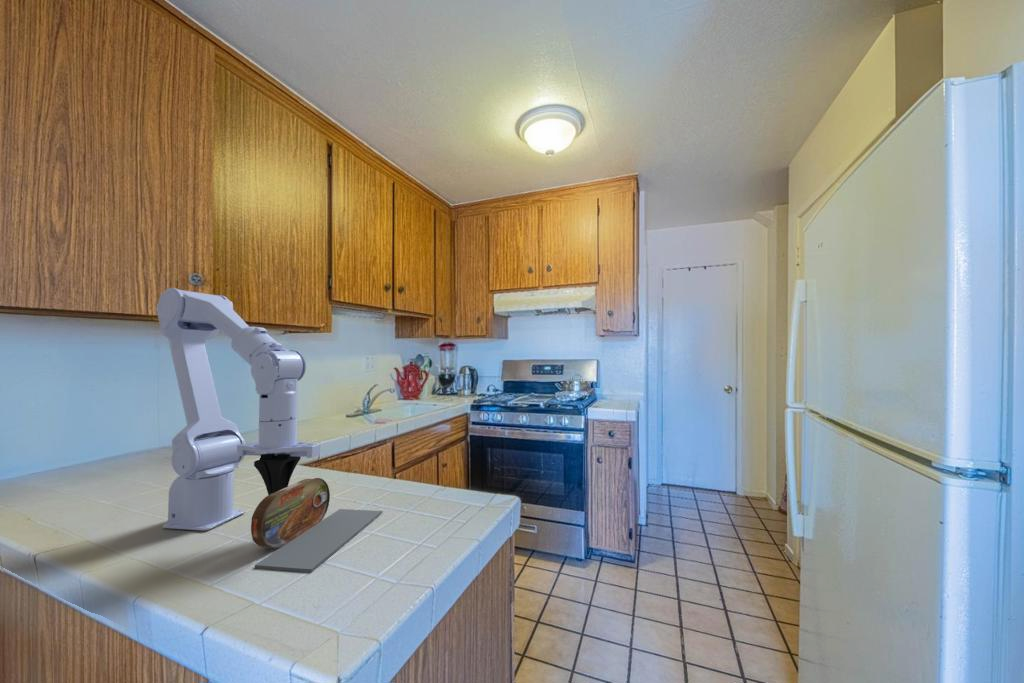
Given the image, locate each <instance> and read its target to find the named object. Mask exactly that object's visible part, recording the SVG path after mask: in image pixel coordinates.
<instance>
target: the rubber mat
mask: <svg viewBox="0 0 1024 683" xmlns="http://www.w3.org/2000/svg"><path fill="white" fill-rule="evenodd" d="M381 513H382V514H383V510H370V509H369V510H368V509H366V510H365V509H347V508H346V509H344V508H339V509H338V510H336V511H334V512H333V513H331V514H330V515H328V516H327V517H325V518H323V519H322V520H321V522H319V523H318V524H316V525H315V526H313V527H312V528H310V529H309V530H307V531H306V532H304V533H303V534H301V535H300V536H298V537H297V538H295V539H293V540H292V541H290V542H289V543H287V544H286V545H284V546H283V547H281V548H277V549H276V550H274V551H273V552H272V553H271V554H269V555H268V556H266V557H264V558H263V559H262V560H260V561H259V562H257V563H255V564H254V569H262V570H263V569H264V570H277V571H279V570H280V571H290V572H302V573H303V572H304V573H312V572H314V571H315V570H316V569H317V568H319V567H320V566H321V565H322V564H323V563H324V562H326V561H327V560H328V559H329V558H330V557H332V556H333V555H334V554H335V553H336V552H338V551H339V550H340V549H341V548H342V547H344V546H345V545H346V544H347V543H349V542H350V541H351V540H352V539H353V538H355V537H356V536H357V535H358V534H359V533H361V532H362V531H363V530H364V529H365V528H366V527H368V526H369V525H370V524H372V523H373V520H374V519H375V518H376V519H377V518H379V517H380V516H381V515H382V514H381ZM380 514H381V515H380ZM379 515H380V516H379ZM376 519H375V520H376ZM375 520H374V521H375Z"/></svg>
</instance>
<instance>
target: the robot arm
mask: <svg viewBox="0 0 1024 683" xmlns="http://www.w3.org/2000/svg"><path fill="white" fill-rule="evenodd" d="M233 303H234V302H233V301H231V300H229V299H228V297H227V296H225V295H221V294H210V293H203V292H197V291H190V290H189V291H188V290H183V289H178V288H175V287H169V288H167V289H165V290H164V291H163V292H162V293H161V295H160V296H159V300H158V302H157V305H156V314H157V318H158V323H159V327H160V331H161V335H162V336H164V337H165V338H167V339H168V343H169V348H170V354H171V358H172V363H173V366H174V368H173V369H174V371H175V376H176V380H177V384H178V385H177V386H178V389H179V394H180V399H181V403H182V407H183V413H184V416H185V421H186V426H185V427H184V428H182V429H181V430H180V431H179V432H177V434H176V435H175V436H174V437H173V438H172V439H171V446H172V448H171V449H172V454H171V460H170V462H171V465H172V469H173V471H174V472H175V473H176V474H177V475H178V476H177V477H176V478H175V479H174V480H173V482H172V483H171V485H170V487H169V490H168V505H167V506H168V507H167V523H165V524H162V528H163V529H173V530H190V531H191V530H192V531H210V530H211V529H214V528H216V527H218V526H219V525H222V524H224V523H226V522H229V521H231V520H233V519H235V518H236V517H238V516H241V515H243V514H245V513H246V510H245V509H234V500H235V499H234V497H235V493H234V492H235V491H234V489H235V469H238V468H239V464H240V463H241V462H242V461H243V460H244V457H245V456H254V457H255V456H256V457H257V456H260V457H259V459H257V460H254V461H253V466H254V468H255V469H256V470H257V472H259V475H260V476H261V478H262V480H263V483H264V485H265V488H266V490H267V494H268V495H270V494H272V493H275V492H277V491H279V490H281V489H284V488H286V487H288V486H289V484H290V480H291V477H292V475H293V472H294V470H295V469H296V467H297V465H298V463H299V461H300V460H301V457H306V458H307V459H313V458H316V457H318V456H320V455H321V454H320V451H321V449H320V448H321V446H320V445H321V444H320V443H311V442H303V441H298V416H299V415H298V412H299V411H298V404H299V403H298V401H299V400H298V399H299V397H298V396H299V394H298V393H299V381H301V379H302V378H304V376H305V373H306V370H307V363H306V359H305V358H304V356H303V355H302V353H301V352H300V351H299V350H296V349H290V350H289V349H287V348H285V347H283V344H282V343H280V342H279V341H276V340H275V339H274V338H273V337H272V336H271V335H270V334H268V333H267V332H268V330H267V329H266V328H264V327H260V326H250V325H248V323H246V322H245V320H244V319H243V318H242V317H240V315H239V314H238V313H237V312H236V311H235V310H234V304H233ZM220 332H221V333H222V334H224V335H225V336H227V337H228V339H230V340H231V343H230V344H231V348H232V350H233V351H234V352H235V353H236V354H237V355H238V356H239V357H240V358H242V360H243V361H245V363H247V364H249V365H250V366H251V367H250V374H251V376H252V379H253V380H254V383H255V391H256V394H258V396H259V397H258V398H259V399H258V400H259V401H258V402H259V403H258V404H259V405H258V441H257V442H246V440H245V439H244V437H243V435H241V432H240V431H239V427H238V424H237V423H235V422H233V421H231V420H229V419H226V418H224V417H223V416H222V412H221V411H222V410H221V407H220V406H221V405H220V403H219V398H218V395H217V390H216V387H215V381H214V377H213V375H212V369H211V365H210V362H209V361H210V360H209V357H208V356H209V355H208V352H207V350H206V349H207V348H206V342H207V341H209V340H212V339H214V338H216V336H217V335H218V334H219V333H220ZM268 495H267V496H268Z"/></svg>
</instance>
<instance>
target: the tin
mask: <svg viewBox="0 0 1024 683" xmlns="http://www.w3.org/2000/svg"><path fill="white" fill-rule="evenodd" d="M330 492H331V491H330V488H329V485H328V483H327V482H326V481H325V480H324V479H323V478H321V477H315V478H305V479H302V480H300V481H297V482H294V483H293V484H290V485H288V487H286V488H284V489H281V490H279V491H277V492H275V493H272V494H270V495H267V496H265V497H264V498H262V500H261V501H260V502H259V504H258V505H257V506H256V508H255V510H254V511H253V513H252V515H251V520H250V521H251V526H250V532H251V539H252V541H253V543H254V544H255V545H257V546H258V547H261V548H268V549H269V548H271V549H280V548H281V547H283V546H284V545H286V544H287V543H289V542H290V541H292V540H293V539H295V538H297V537H298V536H300V535H301V534H303V533H304V532H306V531H307V530H309V529H310V528H312V527H313V526H315V525H316V524H318V523H319V522H321V521H322V520H324V519H325V518H324V517H325V516H326V515H327V512H328V510H329V506H330V500H331V499H330V498H331V497H330V496H331V493H330Z"/></svg>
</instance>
